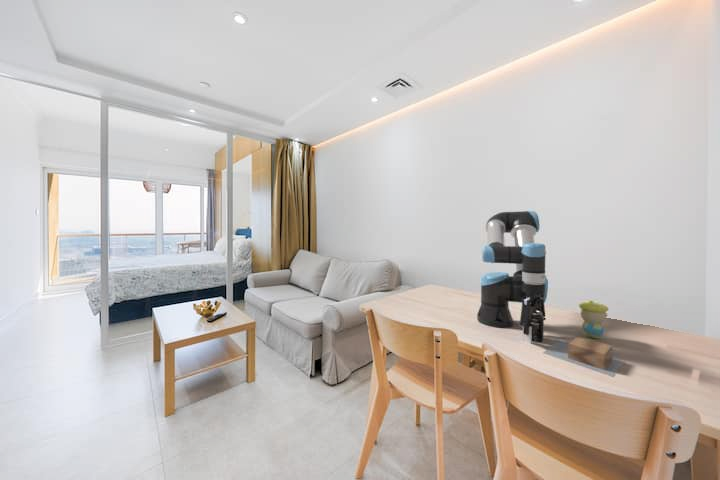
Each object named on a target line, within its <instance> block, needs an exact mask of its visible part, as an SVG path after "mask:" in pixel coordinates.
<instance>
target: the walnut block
mask: <svg viewBox="0 0 720 480" xmlns="http://www.w3.org/2000/svg"><path fill="white" fill-rule="evenodd" d="M567 345H568V358H569V359H572V360H575V361H578V362H581V363H584V364H587V365H590V366H593V367H596V368H599V369H602V370H605V369H606V367H607V366H608V365H609V364H610V363H611V361H612V358H613V345H611V344H608V343H607V344H606V343H603V342H600V341H596V340H592V339H589V338H584V337H580V336H576V337H575V338H573V340H571V341H569V342H568V344H567Z"/></svg>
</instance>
